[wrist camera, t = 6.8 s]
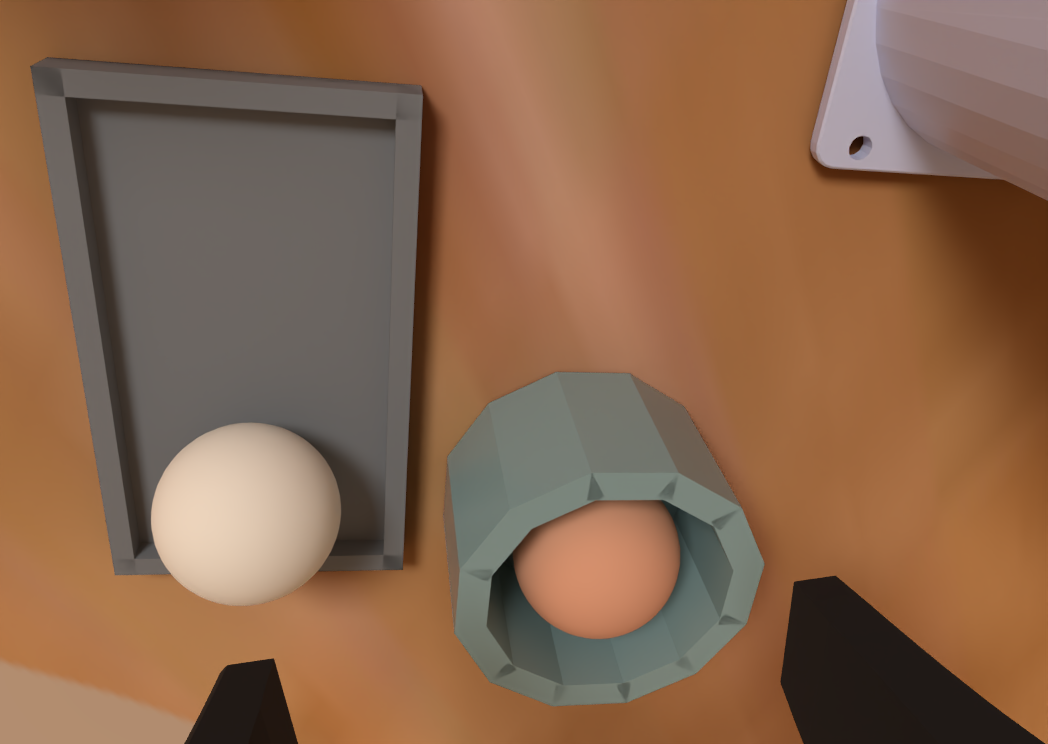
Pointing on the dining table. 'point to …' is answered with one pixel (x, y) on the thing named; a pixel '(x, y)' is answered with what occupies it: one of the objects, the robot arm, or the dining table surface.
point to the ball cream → (246, 514)
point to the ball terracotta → (600, 567)
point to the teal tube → (565, 485)
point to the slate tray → (238, 276)
